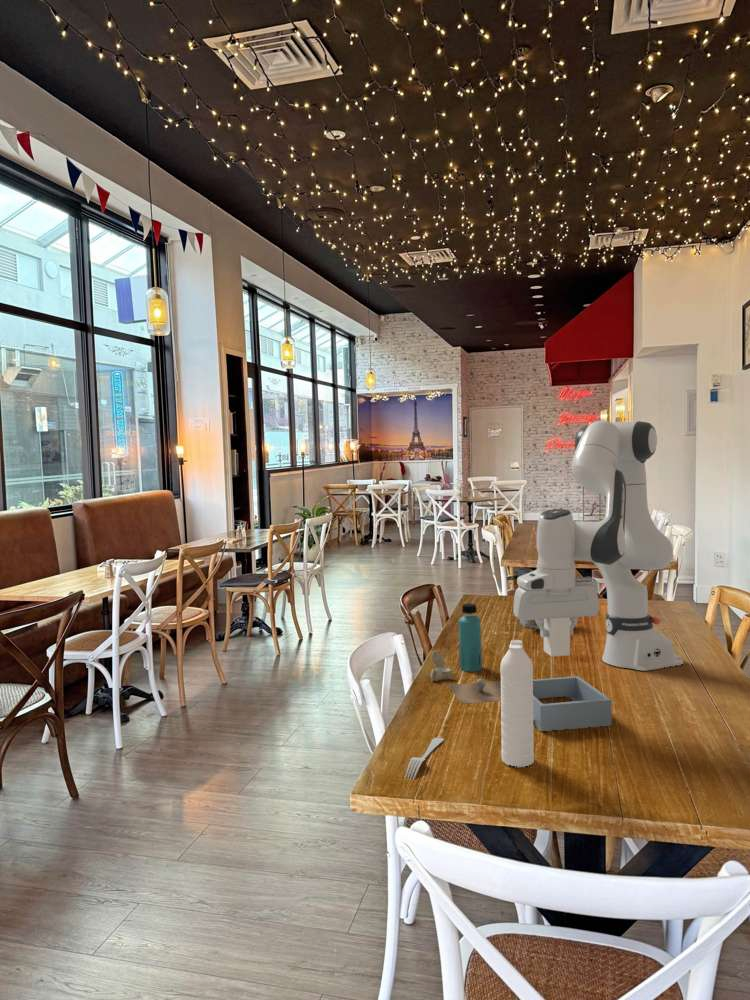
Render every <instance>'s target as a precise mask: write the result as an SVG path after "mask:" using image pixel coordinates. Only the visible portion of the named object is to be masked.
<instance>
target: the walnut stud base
mask: <svg viewBox="0 0 750 1000" xmlns="http://www.w3.org/2000/svg"><path fill="white" fill-rule="evenodd" d="M447 687H448V688H449V689H450V690H451V692H452V693H453V694H454V696H455V697H456V698H457V699H458V701H459V703H460V704H461V705H465V704H467V705H469V704H479V703H490V702H501V682H500V681H499V680H496V681H495V680H494V681H493V680H491V681H485V680H484V679H482V678H478V679H477V680H476V681H475V682H467V683H457V684H456V683H455V684H447Z"/></svg>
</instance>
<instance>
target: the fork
mask: <svg viewBox="0 0 750 1000" xmlns="http://www.w3.org/2000/svg"><path fill="white" fill-rule="evenodd" d="M444 741H445V738H444V739H443V738H441V737H434V738H432V739H431V742H430V743H429V745H428V747H427V749H426V751H425V753H423V755H422V757H415V756H414V757H411V758H410V760H409V762H408V766H407V768H406V771H405V774H404V779H406V778H407V780H408V779H410V780H411V779H412V780H413V781H414V780H415V779H416V776H417V774H418V771H419V769H420V767H421V766H422V764H423V762H424V761H426V760H427V757H428V756H430V754H431V753H432V752H433V751H434V750H435V749H436V748H437V747H438V746H439V745H440V744H441V743H443V742H444Z"/></svg>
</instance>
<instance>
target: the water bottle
mask: <svg viewBox="0 0 750 1000" xmlns="http://www.w3.org/2000/svg"><path fill="white" fill-rule="evenodd" d="M509 643H510V644H509V646H508V650H507V651H506V653H505V655H504V656H503V657H502V659H501V661H500V666H499V667H500V668H499V669H500V683H501V701H500V710H501V711H500V719H501V721H500V726H501V727H500V731H501V733H500V735H501V739H500V740H501V749H500V750H501V751H500V752H501V757H500V758H501V761H502V763H504V764H505V765H507V766H509V765H511V766H510V767H513V766H515V767H514V768H526V767H525V766H528V767H530V766H531V764H532V765H533V764H534V762H535V753H534V752H535V750H534V747H535V743H534V741H535V740H534V736H535V734H534V727H535V726H534V725H533V720H534V719H533V680H534V677H533V676H534V665H533V662H532V659H531V658H530V656H528V653H527V652H526V651H525V649H524V648H523V647H524V645H523V641H522V640H520V639H512V640H510V642H509ZM529 765H530V766H529ZM516 766H517V767H516Z"/></svg>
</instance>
